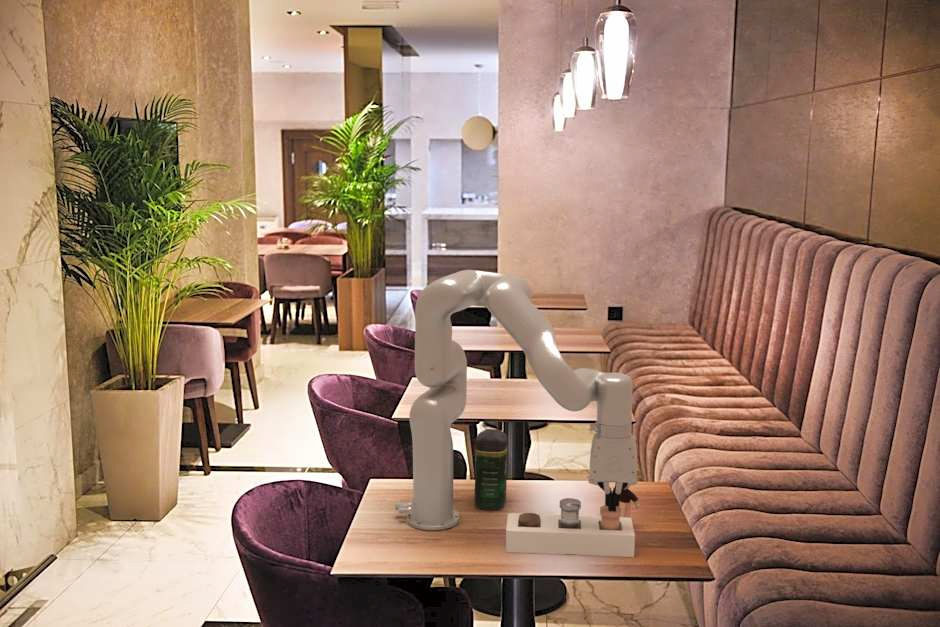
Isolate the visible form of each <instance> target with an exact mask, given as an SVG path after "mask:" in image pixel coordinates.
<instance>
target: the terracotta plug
mask: <svg viewBox="0 0 940 627" xmlns="http://www.w3.org/2000/svg"><path fill="white" fill-rule="evenodd" d="M621 511H622V509H621V508H620V507H618V506H616V511H613V510H612V511H609V510H608V506H605V504H604V505H601V506H600V508H599V515H600V517H602V518H601V530H619V522H620V516H621Z"/></svg>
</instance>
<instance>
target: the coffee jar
mask: <svg viewBox="0 0 940 627" xmlns="http://www.w3.org/2000/svg"><path fill="white" fill-rule="evenodd" d="M474 442H475V443H474V444H475V447H474V450H475V452H474V461H475V462H474V506H476V508H480V509H484V510H490V511H491V510H497V509H498V510H499V509H502V508H503V507H504V506H505V504H506V502H507V477H508V435H507V434H506V433H505V432H504V431H502V430H501V429H494V428H493V429H492V428H485V429H484V430H482V431H480V432H479V433H478V434H477V436H476V438H475V440H474Z"/></svg>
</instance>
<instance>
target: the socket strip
mask: <svg viewBox="0 0 940 627" xmlns="http://www.w3.org/2000/svg"><path fill="white" fill-rule="evenodd" d="M521 514H522V513H515V512H513V513H512V512H511V513H507V520H506V527H505V528H506V529H505V530H506V531H505V553H518V554H519V553H523V554H540V553H541V554H542V555H543V554H546V555H565V554H575V555H574V556H590V555H592V557H593V556H595V557H619V558H620V557H621V558H622V557H623V558H635V542H636V540H635V539H636V535H635V530H634V525H633V521H632V517H630V518H625V517H620V522H619V530H601V518H602V516H595V515H593V516H592V515H579V529H566V528H561V514H541V513H540V514H537V513H536V514H537V515H539V516H540V523H539V524H538V527H520V523H519V515H521Z"/></svg>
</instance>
